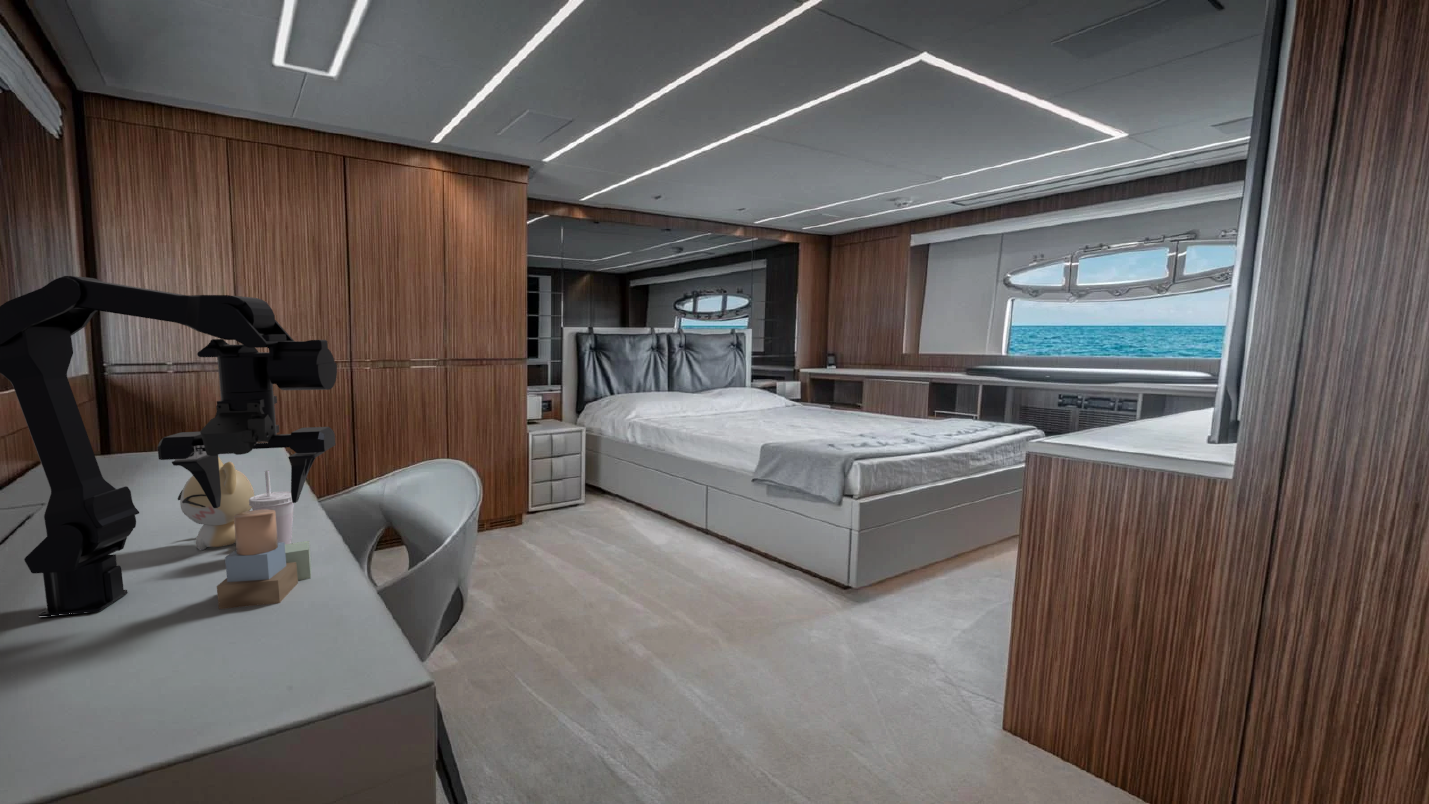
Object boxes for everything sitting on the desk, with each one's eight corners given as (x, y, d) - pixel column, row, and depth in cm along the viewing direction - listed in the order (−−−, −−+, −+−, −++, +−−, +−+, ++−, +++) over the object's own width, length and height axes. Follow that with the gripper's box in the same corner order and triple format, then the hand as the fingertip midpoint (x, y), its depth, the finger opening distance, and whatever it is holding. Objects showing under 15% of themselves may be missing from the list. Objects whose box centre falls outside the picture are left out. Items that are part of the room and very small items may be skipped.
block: (273, 585, 92) (271, 555, 91) (276, 575, 95) (273, 546, 95) (310, 578, 94) (308, 549, 93) (311, 569, 98) (309, 540, 97)
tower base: (219, 611, 84) (216, 586, 83) (242, 590, 90) (239, 567, 90) (280, 605, 85) (278, 580, 85) (298, 585, 92) (296, 562, 92)
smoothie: (244, 557, 103) (236, 472, 101) (283, 544, 109) (277, 464, 107) (270, 562, 100) (263, 475, 99) (309, 549, 106) (303, 467, 105)
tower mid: (227, 582, 84) (225, 556, 84) (247, 568, 89) (244, 544, 89) (269, 579, 85) (267, 554, 85) (286, 565, 90) (284, 542, 90)
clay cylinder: (230, 556, 84) (227, 520, 83) (244, 545, 88) (242, 510, 88) (270, 553, 85) (268, 517, 85) (282, 542, 90) (280, 508, 89)
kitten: (174, 542, 110) (165, 457, 108) (243, 528, 118) (236, 449, 116) (194, 562, 100) (185, 469, 99) (269, 546, 108) (262, 459, 106)
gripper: (125, 399, 74) (139, 528, 76) (306, 394, 80) (315, 515, 81) (175, 390, 85) (186, 504, 87) (332, 387, 90) (340, 494, 92)
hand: (256, 504), depth 86 cm, fingers open, 9 cm apart
